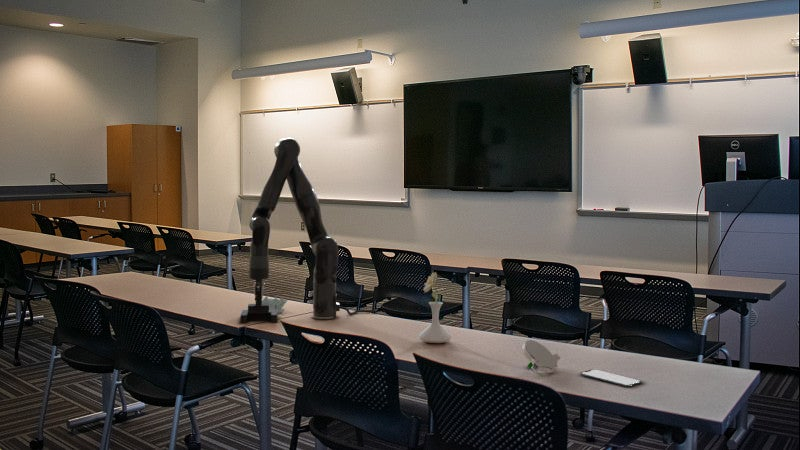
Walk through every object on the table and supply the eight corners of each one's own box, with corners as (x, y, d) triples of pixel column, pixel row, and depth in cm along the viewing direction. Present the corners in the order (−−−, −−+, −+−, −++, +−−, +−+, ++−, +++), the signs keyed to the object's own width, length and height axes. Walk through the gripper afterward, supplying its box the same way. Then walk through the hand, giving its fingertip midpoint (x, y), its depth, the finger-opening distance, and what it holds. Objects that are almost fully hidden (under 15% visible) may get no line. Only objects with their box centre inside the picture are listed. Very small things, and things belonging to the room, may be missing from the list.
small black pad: (269, 311, 285) (269, 303, 285) (268, 313, 280) (268, 305, 280) (248, 311, 284) (248, 303, 283) (247, 313, 279) (247, 305, 279)
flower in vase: (421, 337, 257) (422, 268, 255) (452, 339, 255) (454, 269, 253) (415, 345, 244) (416, 272, 242) (449, 347, 242) (450, 274, 240)
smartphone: (643, 382, 202) (594, 370, 214) (643, 380, 202) (594, 368, 214) (628, 387, 196) (578, 374, 208) (628, 385, 196) (578, 372, 208)
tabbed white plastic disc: (545, 374, 205) (527, 339, 208) (523, 385, 209) (506, 349, 212) (566, 364, 217) (549, 331, 220) (545, 374, 221) (529, 341, 224)
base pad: (277, 316, 292) (277, 309, 292) (276, 322, 280) (276, 315, 280) (242, 317, 290) (242, 310, 290) (240, 323, 278) (240, 315, 278)
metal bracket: (259, 293, 313) (292, 295, 310) (261, 305, 315) (293, 307, 312) (247, 308, 300) (280, 309, 297) (248, 320, 302) (282, 322, 299)
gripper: (268, 268, 274) (267, 312, 275) (269, 264, 288) (268, 306, 289) (248, 268, 273) (247, 312, 274) (250, 264, 287) (250, 306, 288)
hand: (258, 309), depth 282 cm, fingers closed on small black pad, 5 cm apart
